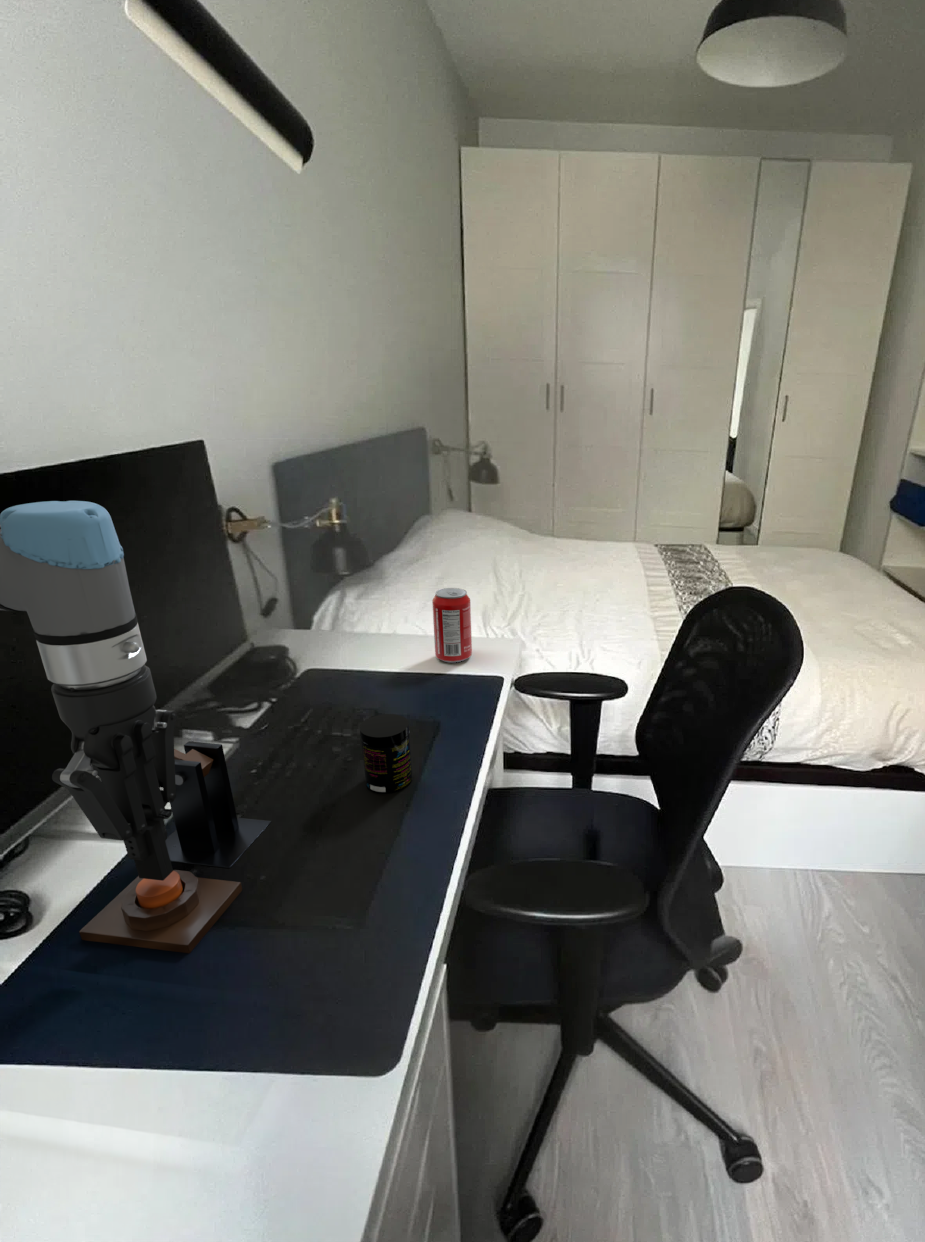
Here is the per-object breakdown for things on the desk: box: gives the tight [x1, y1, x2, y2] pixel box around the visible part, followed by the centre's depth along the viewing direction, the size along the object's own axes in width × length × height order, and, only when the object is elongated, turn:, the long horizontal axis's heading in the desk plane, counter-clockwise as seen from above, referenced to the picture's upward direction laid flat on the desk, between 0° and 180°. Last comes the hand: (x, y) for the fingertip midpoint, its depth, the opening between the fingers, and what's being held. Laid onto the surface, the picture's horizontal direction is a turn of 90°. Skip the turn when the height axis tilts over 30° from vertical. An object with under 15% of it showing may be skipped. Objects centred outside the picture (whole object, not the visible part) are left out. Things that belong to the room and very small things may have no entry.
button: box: [136, 871, 183, 909], centre depth 69 cm, size 4×4×2 cm
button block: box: [78, 869, 243, 954], centre depth 70 cm, size 12×9×4 cm
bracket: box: [165, 740, 272, 869], centre depth 80 cm, size 11×9×14 cm
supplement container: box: [359, 713, 414, 795], centre depth 94 cm, size 7×7×10 cm
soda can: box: [431, 587, 473, 664], centre depth 137 cm, size 8×8×15 cm
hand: (156, 874), depth 68 cm, fingers closed
